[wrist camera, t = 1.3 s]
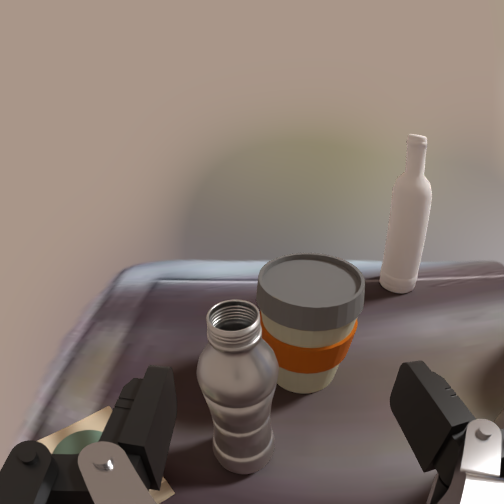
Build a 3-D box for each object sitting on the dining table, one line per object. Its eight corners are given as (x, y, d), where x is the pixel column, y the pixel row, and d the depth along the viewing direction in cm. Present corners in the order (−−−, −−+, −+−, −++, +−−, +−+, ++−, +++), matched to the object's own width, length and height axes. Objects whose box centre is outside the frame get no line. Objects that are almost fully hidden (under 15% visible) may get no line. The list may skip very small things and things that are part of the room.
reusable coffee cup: (253, 344, 47) (251, 255, 40) (333, 335, 48) (345, 249, 41) (263, 409, 35) (262, 315, 29) (359, 395, 36) (385, 301, 30)
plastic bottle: (206, 471, 27) (166, 337, 19) (226, 425, 33) (207, 283, 24) (265, 485, 26) (269, 358, 17) (280, 436, 32) (290, 293, 23)
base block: (119, 424, 32) (108, 404, 30) (175, 493, 24) (165, 479, 23) (44, 461, 25) (26, 443, 23) (86, 541, 17) (66, 530, 15)
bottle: (371, 278, 63) (387, 130, 50) (399, 271, 65) (417, 134, 52) (393, 297, 56) (417, 136, 43) (421, 289, 58) (447, 140, 45)
